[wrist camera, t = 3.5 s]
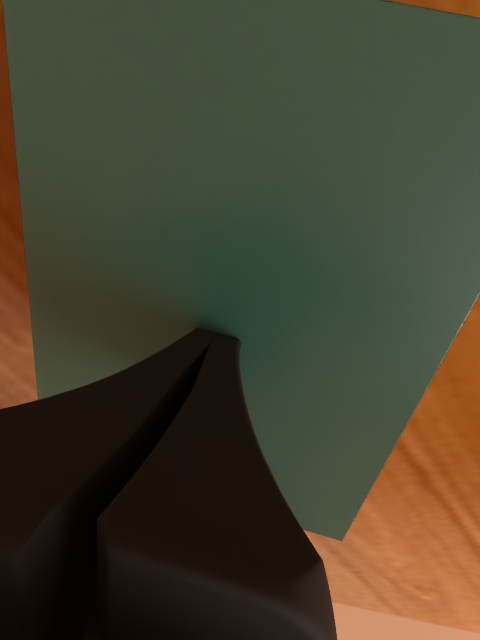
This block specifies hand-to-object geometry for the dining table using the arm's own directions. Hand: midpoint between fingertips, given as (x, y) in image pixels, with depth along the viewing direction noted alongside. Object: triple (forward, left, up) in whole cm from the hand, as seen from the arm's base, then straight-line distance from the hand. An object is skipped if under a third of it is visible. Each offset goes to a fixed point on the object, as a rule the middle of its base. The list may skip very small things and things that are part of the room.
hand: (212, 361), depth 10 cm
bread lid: (+1, +1, -1) cm, 1 cm away
